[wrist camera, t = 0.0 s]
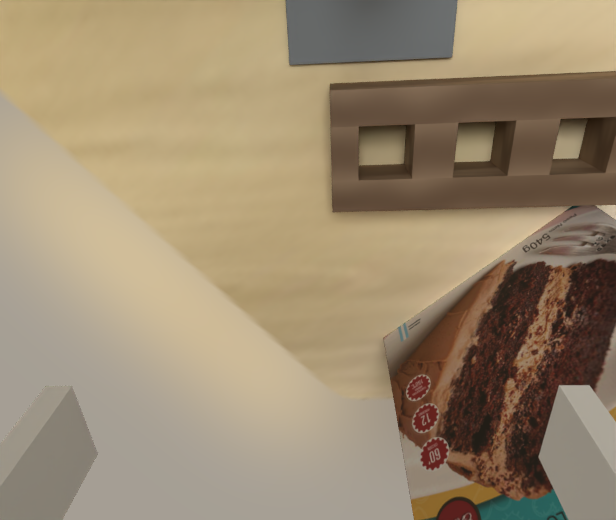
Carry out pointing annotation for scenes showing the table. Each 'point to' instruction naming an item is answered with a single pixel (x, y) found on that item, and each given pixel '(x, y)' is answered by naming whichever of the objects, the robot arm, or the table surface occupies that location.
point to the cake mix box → (505, 371)
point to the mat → (369, 30)
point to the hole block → (505, 152)
